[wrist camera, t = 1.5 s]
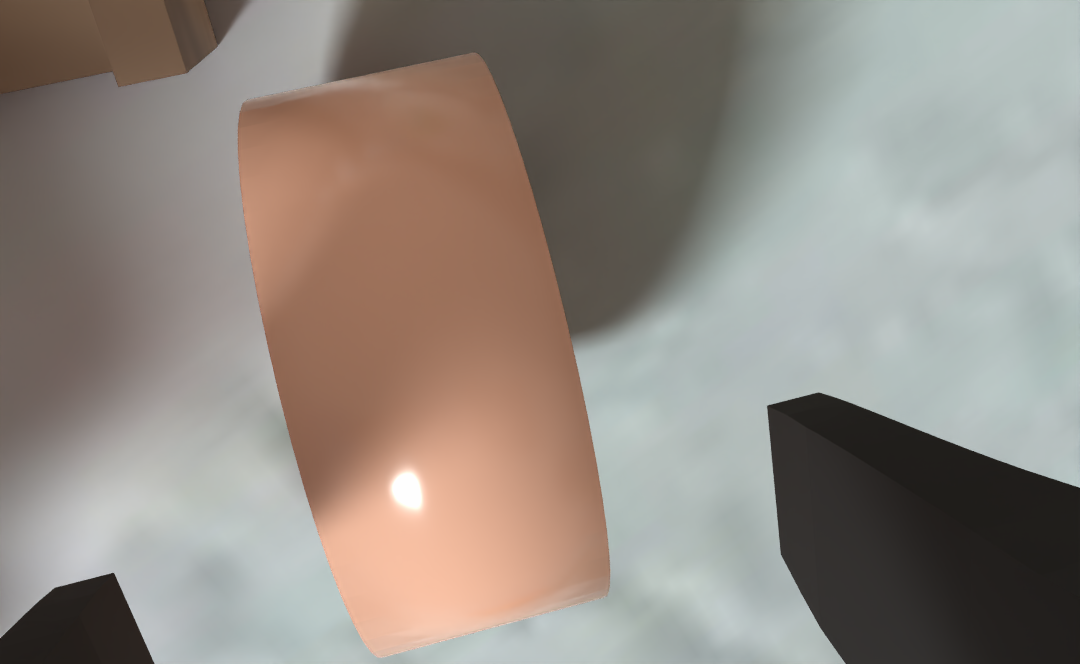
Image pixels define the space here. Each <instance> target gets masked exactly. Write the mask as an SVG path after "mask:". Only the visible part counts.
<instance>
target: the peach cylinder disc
mask: <svg viewBox="0 0 1080 664" xmlns="http://www.w3.org/2000/svg"><path fill="white" fill-rule="evenodd" d="M238 159H239V174H240V185H241V193H242V202H243V211H244V218H245V225H246V231H247V238H248V245H249V251H250V257H251V263H252V268H253V274H254V279H255V285H256V290H257V296H258V301H259V306H260V311H261V315H262V320H263V325H264V330H265V335H266V340H267V344H268V349H269V353H270V357H271V362H272V366H273V370H274V375H275V379H276V383H277V388H278V392H279V396H280V400H281V404H282V408H283V412H284V416H285V419H286V423H287V427H288V431H289V435H290V439H291V443H292V446H293V450H294V453H295V457H296V460H297V464H298V468H299V471H300V475H301V478H302V482H303V485H304V489H305V492H306V495H307V498H308V502H309V505H310V508H311V511H312V514H313V518H314V521H315V524H316V527H317V530H318V533H319V536H320V539H321V542H322V545H323V548H324V551H325V554H326V557H327V559H328V562H329V565H330V568H331V571H332V573H333V576H334V578H335V581H336V584H337V586H338V589H339V591H340V594H341V596H342V599H343V601H344V604H345V606H346V608H347V610H348V612H349V615H350V617H351V619H352V621H353V624H354V625H355V627H356V629H357V631H358V633H359V635H360V636H361V638H362V640H363V642H364V643H365V644H366V646H367V647H368V649H369V650H370V651H371V653H373V654H374V655H375V656H377V657H378V658H381V657H387V656H390V655H394V654H398V653H401V652H405V651H409V650H412V649H416V648H420V647H424V646H427V645H431V644H435V643H438V642H442V641H446V640H449V639H453V638H457V637H461V636H464V635H468V634H472V633H475V632H479V631H483V630H486V629H490V628H494V627H498V626H501V625H505V624H509V623H512V622H516V621H520V620H523V619H527V618H531V617H535V616H538V615H542V614H546V613H549V612H553V611H557V610H560V609H564V608H568V607H572V606H575V605H579V604H583V603H586V602H590V601H594V600H597V599H601V598H604V597H606V596H607V595H608V592H609V587H610V560H609V548H608V538H607V528H606V521H605V514H604V507H603V499H602V493H601V487H600V481H599V475H598V469H597V463H596V457H595V452H594V447H593V442H592V436H591V431H590V426H589V421H588V416H587V411H586V406H585V401H584V396H583V392H582V387H581V382H580V377H579V373H578V368H577V364H576V359H575V355H574V351H573V346H572V342H571V337H570V333H569V329H568V324H567V320H566V316H565V312H564V308H563V304H562V300H561V296H560V292H559V288H558V284H557V280H556V276H555V272H554V268H553V264H552V261H551V257H550V253H549V249H548V245H547V242H546V238H545V234H544V231H543V227H542V223H541V220H540V216H539V213H538V209H537V206H536V202H535V199H534V195H533V192H532V188H531V185H530V182H529V179H528V175H527V172H526V169H525V166H524V162H523V159H522V156H521V153H520V150H519V147H518V144H517V141H516V138H515V135H514V132H513V129H512V126H511V123H510V120H509V117H508V115H507V112H506V109H505V106H504V104H503V101H502V98H501V96H500V93H499V91H498V89H497V86H496V84H495V82H494V79H493V77H492V75H491V73H490V71H489V69H488V67H487V65H486V63H485V62H484V60H483V59H482V58H481V56H480V55H479V54H478V53H475V52H473V53H468V54H464V55H459V56H454V57H449V58H445V59H440V60H435V61H430V62H425V63H421V64H416V65H411V66H406V67H401V68H397V69H392V70H387V71H382V72H377V73H373V74H368V75H363V76H358V77H354V78H349V79H344V80H339V81H334V82H330V83H325V84H320V85H315V86H310V87H306V88H301V89H296V90H291V91H286V92H282V93H277V94H272V95H267V96H263V97H258V98H253V99H248V100H246V101H245V102H244V103H243V104H242V107H241V110H240V114H239V123H238Z"/></svg>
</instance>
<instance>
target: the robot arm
mask: <svg viewBox="0 0 1080 664" xmlns="http://www.w3.org/2000/svg"><path fill="white" fill-rule="evenodd" d="M767 409H768V420H769V431H770V441H771V452H772V463H773V474H774V484H775V495H776V506H777V517H778V527H779V538H780V549H781V555H782V557H783V559H784V561H785V563H786V565H787V567H788V569H789V571H790V572H791V574H792V576H793V578H794V580H795V582H796V584H797V586H798V588H799V590H800V592H801V594H802V595H803V597H804V599H805V601H806V603H807V604H808V606H809V608H810V610H811V612H812V613H813V615H814V617H815V619H816V621H817V622H818V624H819V626H820V628H821V629H822V631H823V632H824V634H825V635H826V636H827V638H828V639H829V641H830V642H831V644H832V645H833V647H834V648H835V649H836V651H837V652H838V654H839V655H840V656H841V658H842V659H843V660H844V662H845V663H846V664H1080V488H1079V487H1076V486H1072V485H1069V484H1066V483H1063V482H1060V481H1057V480H1054V479H1051V478H1048V477H1045V476H1042V475H1039V474H1036V473H1033V472H1030V471H1027V470H1024V469H1021V468H1018V467H1015V466H1012V465H1010V464H1007V463H1004V462H1001V461H998V460H996V459H993V458H990V457H987V456H985V455H982V454H979V453H977V452H974V451H971V450H969V449H966V448H963V447H961V446H958V445H956V444H953V443H950V442H948V441H945V440H943V439H940V438H937V437H935V436H932V435H930V434H927V433H925V432H922V431H920V430H917V429H915V428H912V427H910V426H907V425H905V424H902V423H900V422H897V421H895V420H892V419H890V418H887V417H885V416H882V415H880V414H877V413H875V412H872V411H870V410H867V409H864V408H862V407H859V406H857V405H854V404H851V403H849V402H846V401H843V400H841V399H838V398H835V397H832V396H829V395H825V394H822V393H815V394H811V395H807V396H803V397H799V398H795V399H791V400H788V401H784V402H780V403H776V404H772V405H768V406H767ZM0 664H154V662H153V660H152V657H151V655H150V653H149V651H148V648H147V646H146V644H145V642H144V639H143V637H142V635H141V633H140V630H139V628H138V626H137V624H136V621H135V619H134V617H133V615H132V612H131V610H130V608H129V606H128V604H127V601H126V599H125V597H124V595H123V592H122V590H121V588H120V586H119V583H118V581H117V579H116V577H115V574H114V573H111V574H107V575H103V576H99V577H96V578H92V579H88V580H84V581H80V582H76V583H72V584H68V585H64V586H60V587H56V588H54V589H53V590H52V591H51V592H49V593H48V594H47V595H46V596H45V597H43V598H42V599H41V600H40V601H39V602H38V603H37V604H35V605H34V606H33V607H32V608H31V609H30V610H29V611H28V612H27V613H26V614H25V615H24V616H23V617H22V618H21V619H20V620H19V621H18V622H17V623H16V624H15V625H14V626H13V627H12V628H10V629H9V630H8V631H7V632H6V633H5V634H4V635H3V636H2V637H1V638H0Z"/></svg>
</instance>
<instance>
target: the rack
mask: <svg viewBox="0 0 1080 664" xmlns="http://www.w3.org/2000/svg"><path fill="white" fill-rule="evenodd" d="M216 47H218V45H217V42H216V39H215V36H214V32H213V29H212V26H211V22H210V19H209V16H208V13H207V9H206V6H205V3H204V0H0V94H3V93H8V92H13V91H18V90H23V89H28V88H33V87H38V86H43V85H48V84H53V83H57V82H62V81H67V80H72V79H77V78H82V77H87V76H92V75H97V74H102V73H107V72H112V71H113V73H114V75H115V78H116V81H117V84H118V87H121V86H126V85H131V84H136V83H141V82H146V81H150V80H155V79H160V78H165V77H170V76H175V75H180V74H185V73H187V72H189V71H190V70H191V69H192V68H193V67H194V66H196V65H197V64H198V63H199V62H200V61H201V60H203V59H204V58H205V57H206V56H207V55H208V54H209V53H211V52H212V51H213V50H214V49H215V48H216Z"/></svg>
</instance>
